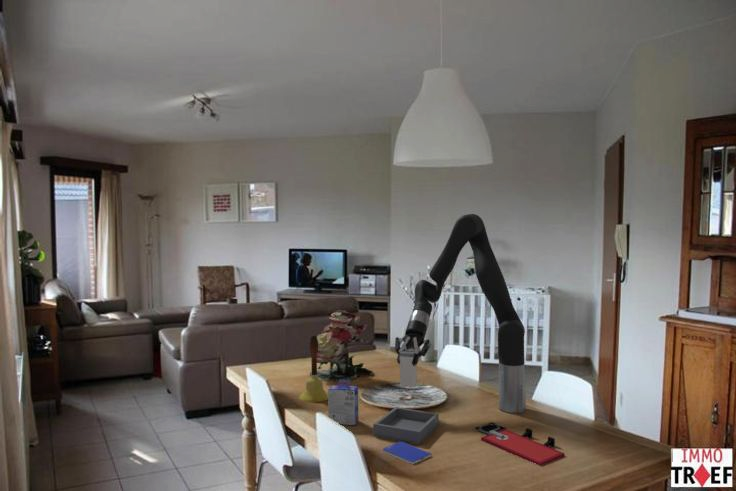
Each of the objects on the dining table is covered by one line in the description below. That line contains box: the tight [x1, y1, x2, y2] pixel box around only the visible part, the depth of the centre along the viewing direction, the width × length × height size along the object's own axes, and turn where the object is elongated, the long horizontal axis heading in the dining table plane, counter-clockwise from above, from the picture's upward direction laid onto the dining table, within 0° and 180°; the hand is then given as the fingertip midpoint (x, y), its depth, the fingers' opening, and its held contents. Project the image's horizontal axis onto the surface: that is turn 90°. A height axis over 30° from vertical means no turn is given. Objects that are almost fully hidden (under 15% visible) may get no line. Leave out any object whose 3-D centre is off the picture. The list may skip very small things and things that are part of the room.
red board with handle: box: [474, 421, 565, 466], centre depth 168 cm, size 30×3×15 cm
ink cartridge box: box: [327, 379, 359, 426], centre depth 186 cm, size 10×6×14 cm, turn 78°
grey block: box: [399, 350, 418, 388], centre depth 195 cm, size 5×4×12 cm
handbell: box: [298, 334, 328, 403], centre depth 214 cm, size 12×12×25 cm
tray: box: [372, 406, 440, 446], centre depth 178 cm, size 16×18×4 cm
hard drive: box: [382, 441, 432, 465], centre depth 160 cm, size 2×8×12 cm
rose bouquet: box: [309, 309, 375, 383], centre depth 246 cm, size 26×29×30 cm
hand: (406, 363), depth 193 cm, fingers closed on grey block, 5 cm apart
